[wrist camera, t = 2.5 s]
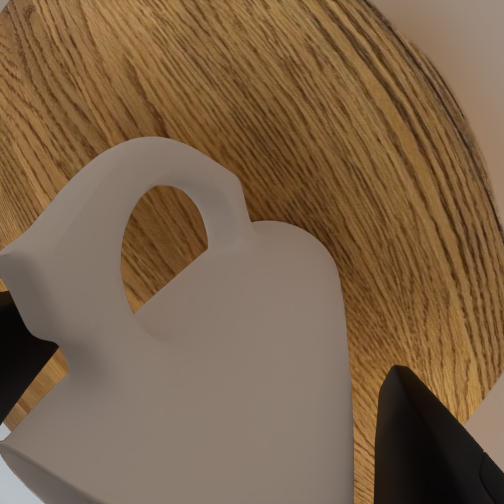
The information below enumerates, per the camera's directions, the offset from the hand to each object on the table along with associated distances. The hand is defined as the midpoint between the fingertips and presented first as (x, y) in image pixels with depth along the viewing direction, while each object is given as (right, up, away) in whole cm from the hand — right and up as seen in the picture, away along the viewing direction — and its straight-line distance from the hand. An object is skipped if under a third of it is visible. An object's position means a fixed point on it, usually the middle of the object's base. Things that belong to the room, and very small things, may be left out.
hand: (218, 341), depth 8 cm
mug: (+1, +2, +6) cm, 7 cm away
